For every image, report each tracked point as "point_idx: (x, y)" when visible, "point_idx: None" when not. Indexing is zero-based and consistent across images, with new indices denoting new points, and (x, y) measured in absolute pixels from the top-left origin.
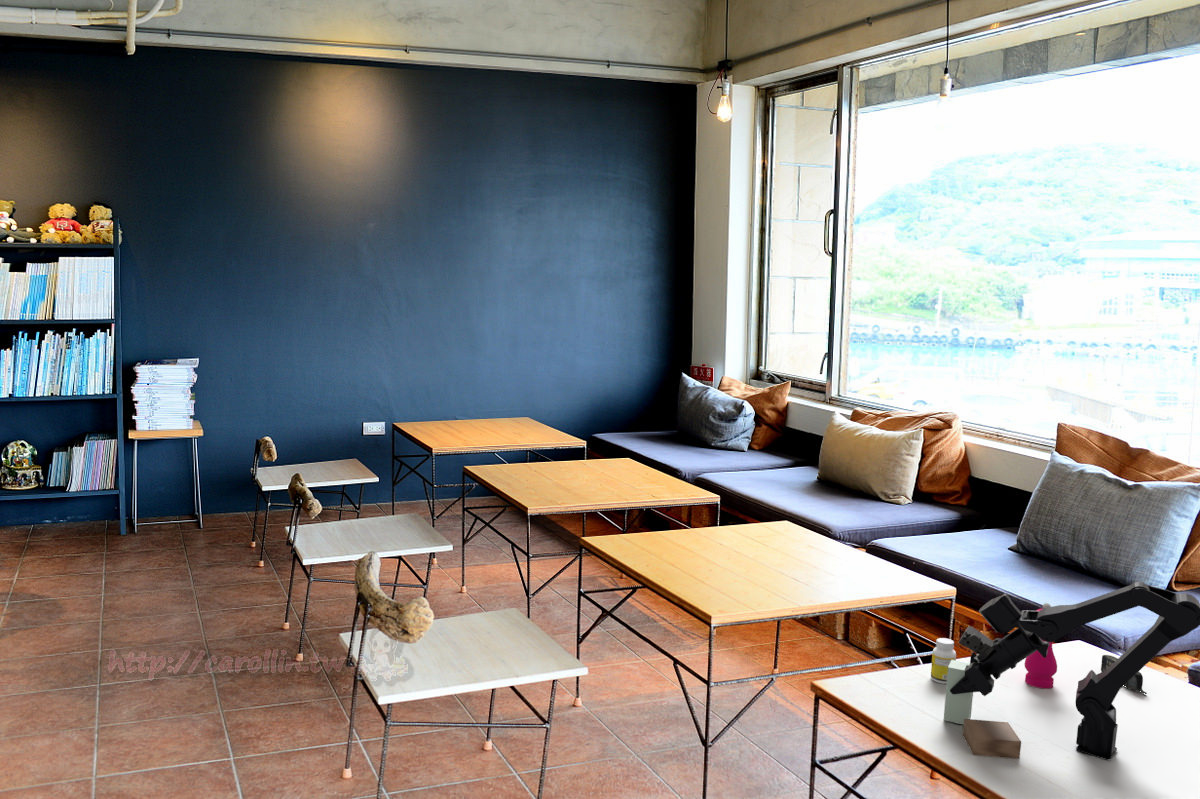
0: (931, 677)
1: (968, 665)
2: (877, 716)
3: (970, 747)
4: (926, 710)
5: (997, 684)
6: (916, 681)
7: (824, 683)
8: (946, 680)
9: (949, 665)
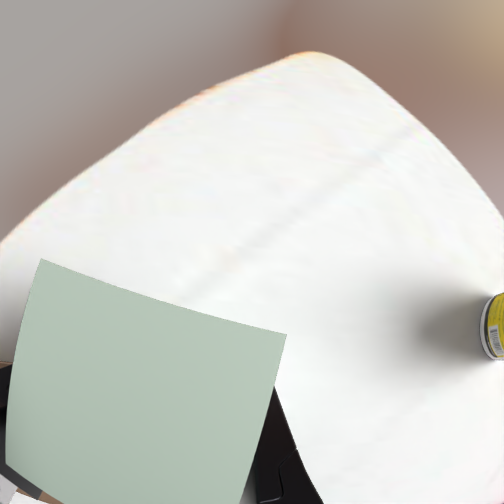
0: (494, 296)
1: (154, 500)
2: (162, 131)
3: (10, 362)
4: (252, 270)
5: (498, 461)
6: (465, 255)
7: (330, 57)
8: (487, 339)
9: (79, 280)
